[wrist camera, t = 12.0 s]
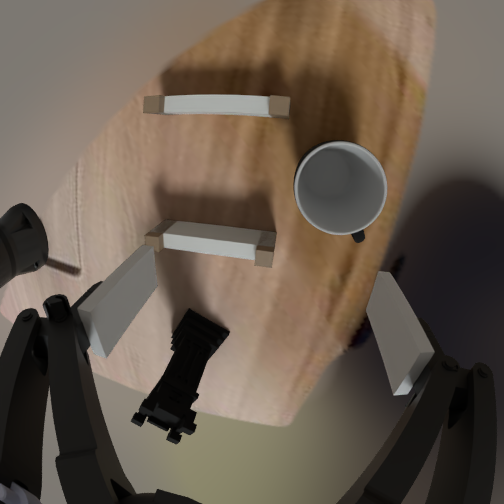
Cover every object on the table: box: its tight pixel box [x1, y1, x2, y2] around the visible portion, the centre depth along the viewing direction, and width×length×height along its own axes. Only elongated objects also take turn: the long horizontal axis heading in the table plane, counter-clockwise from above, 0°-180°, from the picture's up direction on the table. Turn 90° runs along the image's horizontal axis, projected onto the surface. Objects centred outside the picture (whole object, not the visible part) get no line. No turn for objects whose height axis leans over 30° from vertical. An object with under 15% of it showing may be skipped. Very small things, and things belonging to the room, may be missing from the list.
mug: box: [294, 140, 387, 243], centre depth 28 cm, size 12×9×10 cm
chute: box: [143, 95, 290, 268], centre depth 31 cm, size 16×19×6 cm
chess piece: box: [131, 308, 230, 444], centre depth 38 cm, size 8×8×20 cm
